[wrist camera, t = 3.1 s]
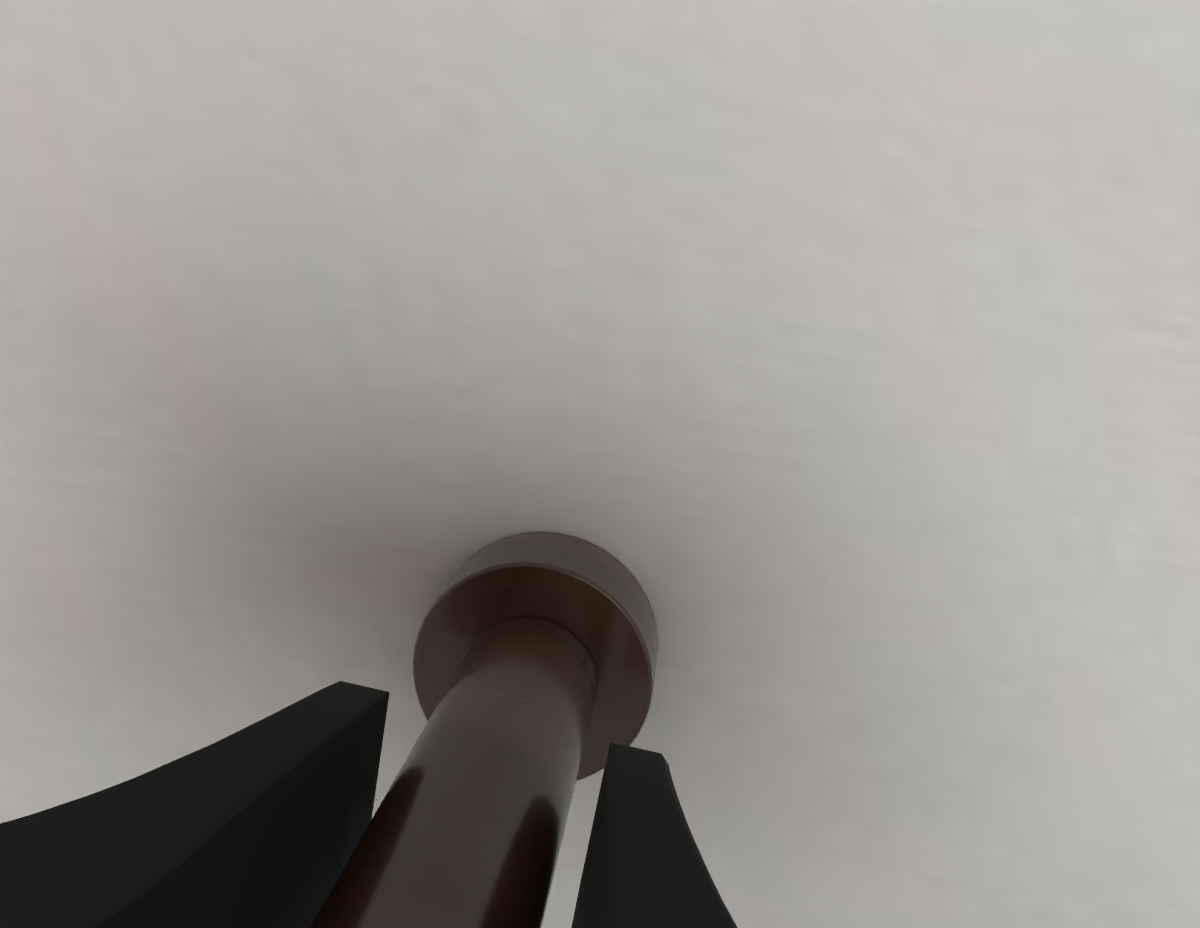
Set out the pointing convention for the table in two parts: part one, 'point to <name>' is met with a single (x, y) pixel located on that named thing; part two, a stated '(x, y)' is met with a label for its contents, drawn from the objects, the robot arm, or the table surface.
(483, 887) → the coffee tamper
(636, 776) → the robot arm
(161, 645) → the table surface
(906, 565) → the table surface
